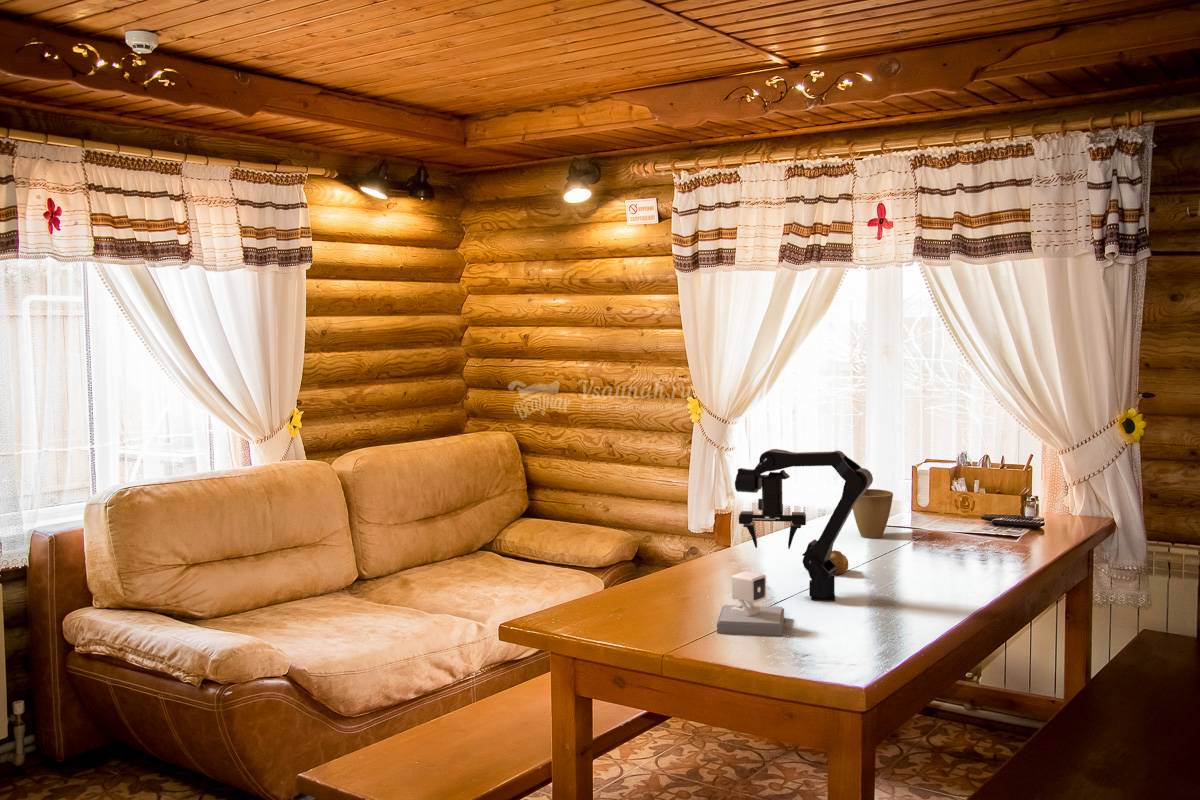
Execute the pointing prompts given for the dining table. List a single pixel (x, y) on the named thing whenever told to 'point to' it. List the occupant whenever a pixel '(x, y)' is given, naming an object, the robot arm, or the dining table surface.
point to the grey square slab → (752, 621)
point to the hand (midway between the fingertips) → (772, 548)
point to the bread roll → (839, 562)
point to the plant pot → (873, 512)
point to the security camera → (748, 592)
